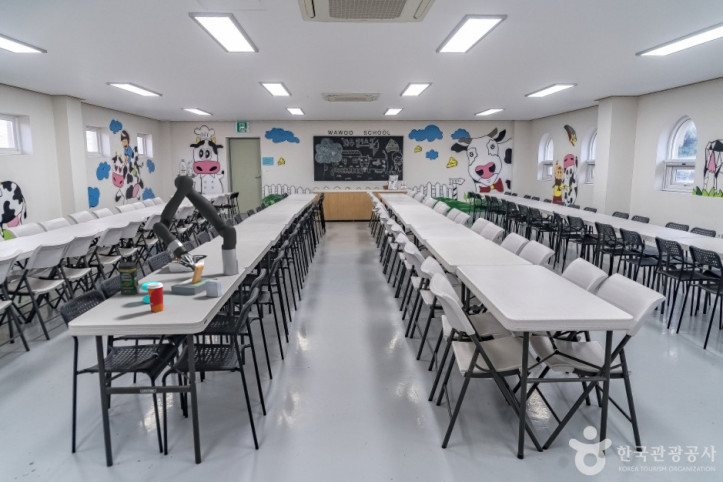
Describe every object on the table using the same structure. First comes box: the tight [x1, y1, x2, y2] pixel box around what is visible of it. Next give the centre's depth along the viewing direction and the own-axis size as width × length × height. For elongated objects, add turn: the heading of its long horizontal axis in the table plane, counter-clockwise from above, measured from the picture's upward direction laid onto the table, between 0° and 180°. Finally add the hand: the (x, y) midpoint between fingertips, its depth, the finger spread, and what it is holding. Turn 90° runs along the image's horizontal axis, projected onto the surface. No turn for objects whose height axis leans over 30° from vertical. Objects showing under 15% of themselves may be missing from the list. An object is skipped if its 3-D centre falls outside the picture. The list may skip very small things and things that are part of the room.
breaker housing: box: [170, 276, 218, 296], centre depth 271 cm, size 16×22×4 cm
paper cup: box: [147, 281, 164, 313], centre depth 231 cm, size 8×8×14 cm
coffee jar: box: [117, 261, 141, 296], centre depth 263 cm, size 10×8×19 cm
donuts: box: [140, 281, 159, 304], centre depth 248 cm, size 10×10×10 cm
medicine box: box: [205, 279, 224, 298], centre depth 256 cm, size 8×4×9 cm, turn 71°
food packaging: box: [164, 254, 208, 273], centre depth 324 cm, size 25×8×23 cm
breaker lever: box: [191, 265, 205, 284], centre depth 270 cm, size 2×5×12 cm, turn 163°
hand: (196, 270), depth 269 cm, fingers closed
